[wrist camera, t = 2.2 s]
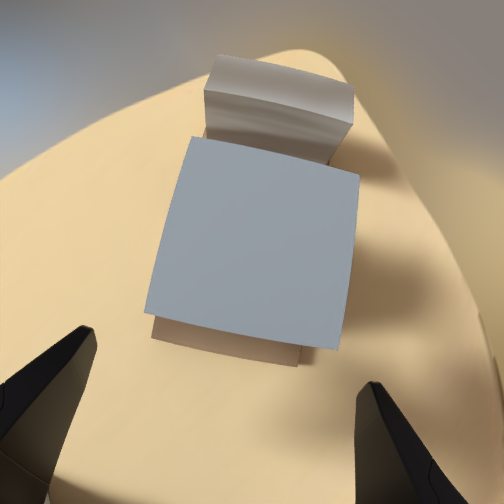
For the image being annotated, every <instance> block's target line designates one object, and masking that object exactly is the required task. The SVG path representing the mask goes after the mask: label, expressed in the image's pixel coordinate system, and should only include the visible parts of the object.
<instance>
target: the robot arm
mask: <svg viewBox="0 0 504 504" xmlns="http://www.w3.org/2000/svg"><path fill="white" fill-rule="evenodd" d="M96 351H97V341H96V337H95V333H94V330H93V328H91V327H88V326H85V325H81V326H79V327H78V328H76V329H75V330H74V331H72V332H71V333H69V334H68V335H67V336H65V337H64V338H62V339H61V340H60V341H58V342H57V343H56V344H54V345H53V346H51V347H50V348H49V349H47V350H46V351H45V352H43V353H42V354H41V355H39V356H38V357H37V358H35V359H34V360H33V361H31V362H30V363H29V364H27V365H26V366H25V367H23V368H22V369H21V370H19V371H18V372H17V373H15V374H14V375H13V376H11V377H10V378H9V379H7V380H6V381H5V383H2V384H1V385H0V504H44V503H45V499H46V496H47V492H48V489H49V485H50V482H51V479H52V476H53V473H54V470H55V467H56V464H57V461H58V458H59V455H60V452H61V449H62V446H63V444H64V441H65V438H66V436H67V433H68V430H69V428H70V425H71V422H72V420H73V417H74V415H75V412H76V410H77V407H78V405H79V402H80V400H81V397H82V395H83V392H84V390H85V387H86V384H87V380H88V377H89V373H90V370H91V367H92V364H93V360H94V357H95V354H96ZM354 447H355V490H356V501H355V504H468V502H467V501H466V500H465V499H464V498H463V497H462V495H461V494H460V493H459V492H458V491H457V489H456V488H455V487H454V486H453V485H452V483H451V482H450V481H449V480H448V478H447V477H446V476H445V474H444V473H443V472H442V470H441V469H440V467H439V466H438V465H437V463H436V462H435V460H434V459H432V456H431V454H430V453H429V451H428V450H427V448H426V447H425V445H424V444H423V443H422V441H421V440H420V438H419V437H418V435H417V434H416V432H415V431H414V429H413V428H412V427H411V425H410V424H409V422H408V421H407V419H406V418H405V417H404V415H403V414H402V412H401V411H400V409H399V408H398V407H397V405H396V404H395V402H394V401H393V399H392V398H391V397H390V395H389V394H388V392H387V391H386V390H385V388H384V387H383V385H382V384H381V383H380V382H373V381H370V382H368V383H367V384H366V385H365V386H364V387H363V388H362V390H361V391H360V392H359V393H358V395H357V398H356V415H355V432H354Z"/></svg>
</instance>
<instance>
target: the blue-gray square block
mask: <svg viewBox="0 0 504 504" xmlns="http://www.w3.org/2000/svg"><path fill="white" fill-rule="evenodd" d="M359 183H360V175H358V174H355V173H351V172H348V171H344V170H341V169H337V168H334V167H330V166H327V165H323V164H319V163H316V162H312V161H308V160H304V159H300V158H296V157H292V156H288V155H284V154H279V153H275V152H271V151H266V150H262V149H257V148H253V147H248V146H243V145H238V144H233V143H228V142H223V141H217V140H212V139H206V138H200V137H194V136H192V137H191V140H190V143H189V146H188V149H187V152H186V155H185V158H184V162H183V165H182V168H181V171H180V174H179V177H178V181H177V184H176V187H175V191H174V194H173V197H172V201H171V204H170V208H169V211H168V215H167V219H166V222H165V226H164V230H163V233H162V237H161V241H160V245H159V249H158V253H157V257H156V261H155V265H154V269H153V274H152V278H151V282H150V287H149V291H148V296H147V300H146V305H145V310H144V313H147V314H151V315H155V316H159V317H163V318H167V319H172V320H176V321H180V322H184V323H189V324H193V325H197V326H202V327H207V328H211V329H216V330H221V331H226V332H231V333H236V334H241V335H246V336H251V337H257V338H262V339H268V340H273V341H279V342H285V343H291V344H298V345H304V346H311V347H318V348H325V349H332V350H338V347H339V342H340V337H341V331H342V325H343V320H344V314H345V308H346V301H347V295H348V288H349V281H350V274H351V266H352V258H353V249H354V241H355V231H356V221H357V210H358V197H359Z"/></svg>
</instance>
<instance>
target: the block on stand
mask: <svg viewBox="0 0 504 504" xmlns="http://www.w3.org/2000/svg"><path fill="white" fill-rule="evenodd" d="M204 102H205V119H206V128H205V131H204V134H203V137H202V138H206V139H212V140H217V141H223V142H228V143H233V144H238V145H243V146H248V147H253V148H257V149H262V150H266V151H271V152H275V153H279V154H284V155H288V156H292V157H296V158H300V159H304V160H308V161H312V162H316V163H319V164H323V165H327V166H329V160H330V158H331V156H332V155H333V153H334V152H335V150H336V149H337V147H338V146H339V144H340V143H341V141H342V140H343V139H344V137H345V136H346V134H347V133H348V131H349V130H350V128H351V127H352V125H353V116H354V86H353V85H350V84H347V83H344V82H340V81H337V80H334V79H331V78H327V77H324V76H320V75H317V74H313V73H309V72H306V71H302V70H298V69H294V68H290V67H285V66H281V65H277V64H272V63H267V62H262V61H257V60H251V59H246V58H240V57H234V56H228V55H221V54H218V56H217V59H216V61H215V63H214V66H213V68H212V71H211V73H210V76H209V78H208V80H207V83H206V85H205V88H204ZM151 338H153V339H157V340H161V341H165V342H169V343H173V344H177V345H181V346H186V347H190V348H194V349H199V350H203V351H208V352H213V353H218V354H223V355H228V356H233V357H238V358H243V359H249V360H255V361H260V362H266V363H273V364H279V365H286V366H292V367H298V362H299V357H300V352H301V347H302V345H298V344H291V343H285V342H279V341H273V340H268V339H262V338H257V337H251V336H246V335H241V334H236V333H231V332H226V331H221V330H216V329H211V328H207V327H202V326H197V325H193V324H189V323H184V322H180V321H176V320H172V319H167V318H163V317H159V316H155V320H154V326H153V331H152V336H151Z"/></svg>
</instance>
